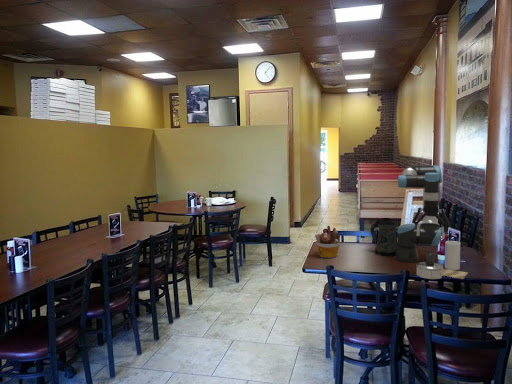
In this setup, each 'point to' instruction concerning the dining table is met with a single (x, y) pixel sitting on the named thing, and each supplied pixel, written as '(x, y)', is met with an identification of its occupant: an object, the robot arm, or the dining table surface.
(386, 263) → the dining table surface
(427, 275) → the bowl
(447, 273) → the plate
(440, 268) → the lid
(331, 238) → the bucket of meat
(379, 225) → the beer stein
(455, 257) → the cup
